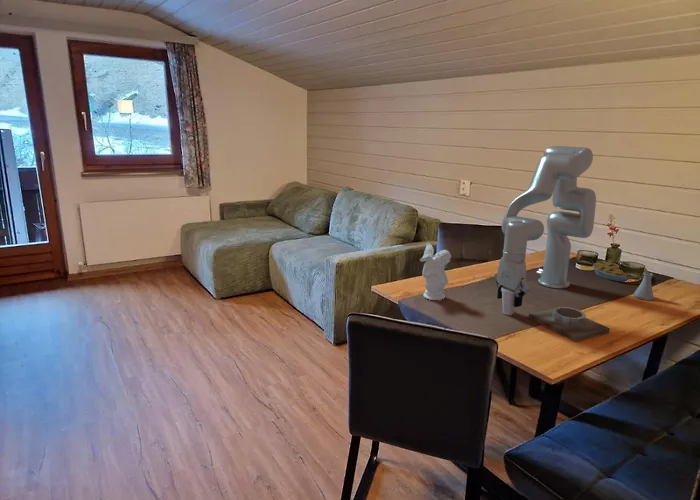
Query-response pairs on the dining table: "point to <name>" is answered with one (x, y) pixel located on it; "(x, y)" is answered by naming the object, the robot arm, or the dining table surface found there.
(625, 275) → the pie
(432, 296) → the cherub figurine
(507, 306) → the smoothie
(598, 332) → the board
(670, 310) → the dining table surface
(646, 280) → the flask
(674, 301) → the dining table surface
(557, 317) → the collar
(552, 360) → the dining table surface
